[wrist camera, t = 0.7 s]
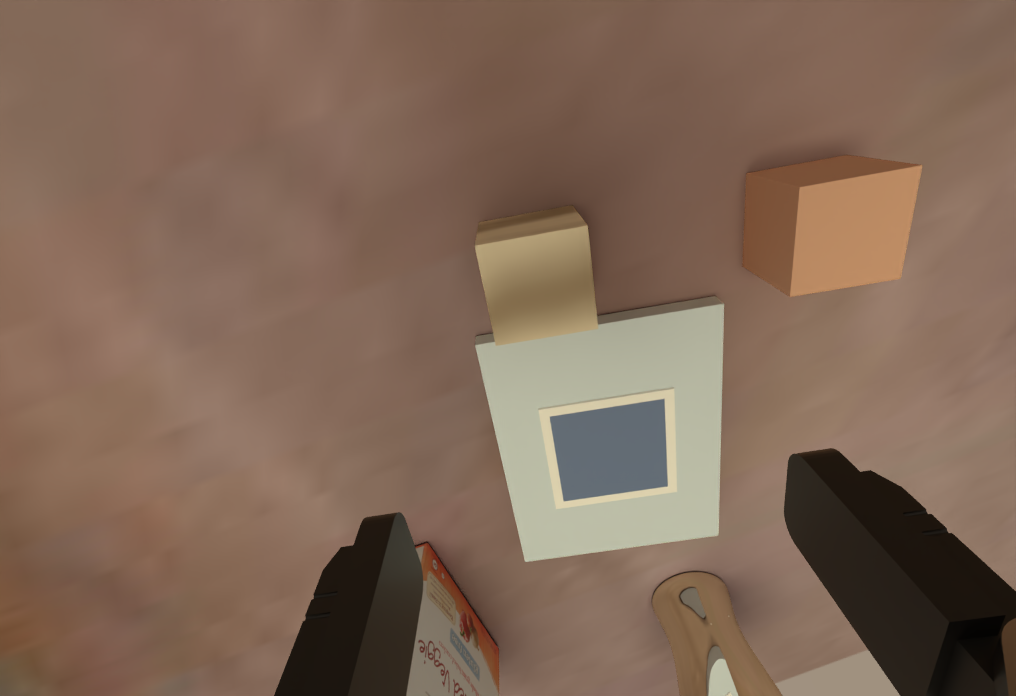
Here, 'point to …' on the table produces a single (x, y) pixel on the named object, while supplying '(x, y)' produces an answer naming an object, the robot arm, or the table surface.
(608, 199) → the table surface
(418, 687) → the cracker box
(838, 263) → the terracotta block
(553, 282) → the birch block
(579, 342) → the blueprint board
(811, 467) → the robot arm
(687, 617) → the beer glass
